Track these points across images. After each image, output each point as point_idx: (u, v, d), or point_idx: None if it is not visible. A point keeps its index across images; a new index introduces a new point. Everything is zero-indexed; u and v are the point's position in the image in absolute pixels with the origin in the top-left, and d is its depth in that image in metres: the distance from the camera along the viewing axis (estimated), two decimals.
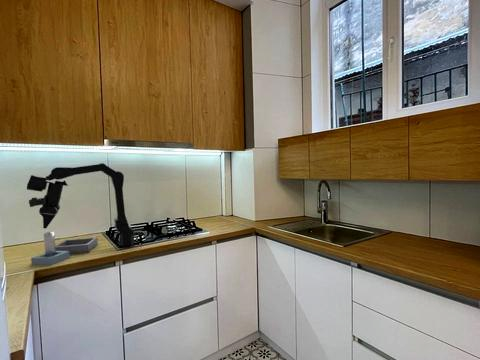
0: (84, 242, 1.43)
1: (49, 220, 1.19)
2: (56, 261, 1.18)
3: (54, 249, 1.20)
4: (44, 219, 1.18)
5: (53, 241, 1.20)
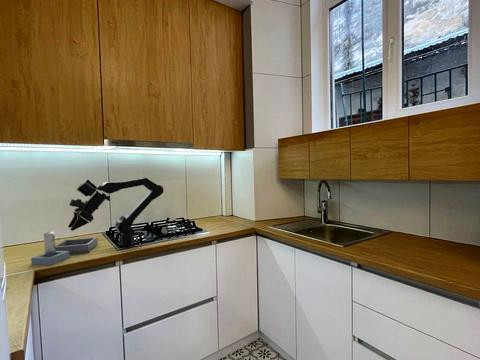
0: (84, 242, 1.43)
1: (80, 225, 1.23)
2: (56, 261, 1.18)
3: (54, 249, 1.20)
4: (77, 222, 1.22)
5: (53, 241, 1.20)
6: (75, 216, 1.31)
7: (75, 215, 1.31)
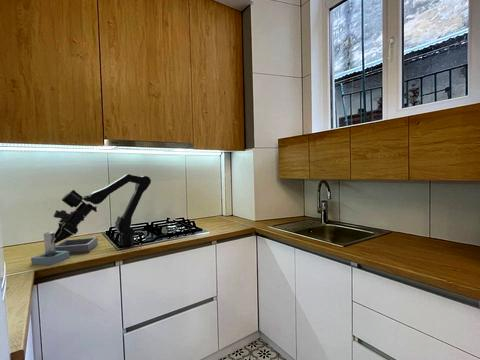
0: (84, 242, 1.43)
1: (64, 237, 1.19)
2: (56, 261, 1.18)
3: (54, 249, 1.20)
4: (60, 234, 1.18)
5: (53, 241, 1.20)
6: (60, 227, 1.27)
7: (60, 226, 1.27)
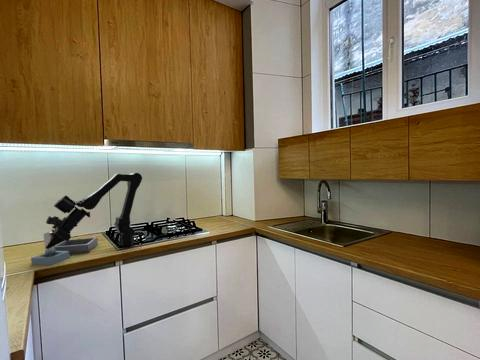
0: (84, 242, 1.43)
1: (56, 243, 1.19)
2: (56, 261, 1.18)
3: (54, 249, 1.20)
4: (52, 240, 1.18)
5: None
6: None
7: None
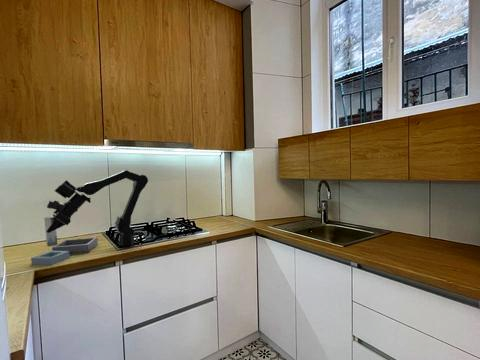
0: (84, 242, 1.43)
1: (56, 227, 1.20)
2: (56, 261, 1.18)
3: (55, 233, 1.21)
4: (53, 224, 1.19)
5: None
6: None
7: None
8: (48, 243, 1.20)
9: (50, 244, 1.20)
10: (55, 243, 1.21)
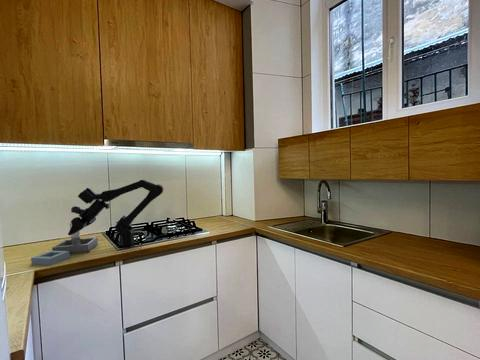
0: (84, 242, 1.43)
1: (75, 230, 1.31)
2: (56, 261, 1.18)
3: (77, 238, 1.35)
4: (72, 228, 1.30)
5: None
6: None
7: None
8: None
9: None
10: None
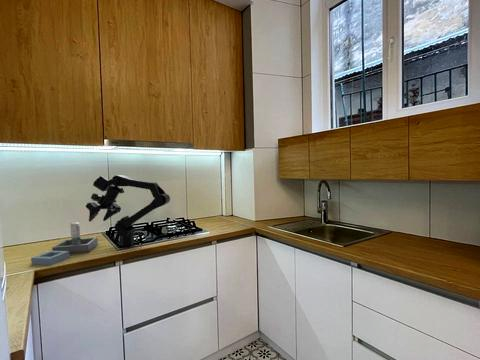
0: (84, 242, 1.43)
1: (92, 216, 1.35)
2: (56, 261, 1.18)
3: (78, 238, 1.35)
4: (90, 213, 1.36)
5: (77, 231, 1.35)
6: (107, 210, 1.46)
7: (107, 210, 1.46)
8: None
9: None
10: None
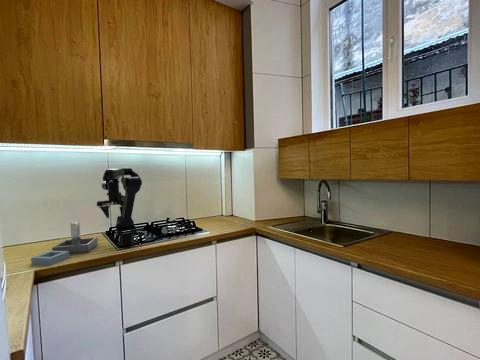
0: (84, 242, 1.43)
1: None
2: (56, 261, 1.18)
3: (78, 238, 1.35)
4: None
5: (77, 231, 1.35)
6: None
7: None
8: None
9: None
10: None
